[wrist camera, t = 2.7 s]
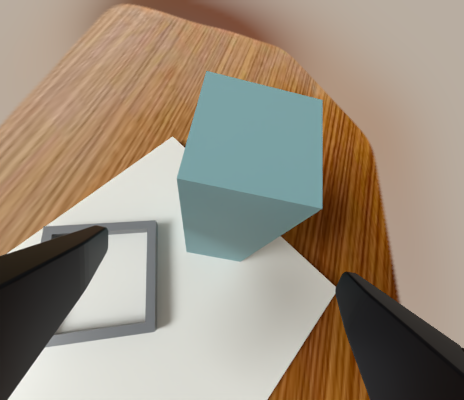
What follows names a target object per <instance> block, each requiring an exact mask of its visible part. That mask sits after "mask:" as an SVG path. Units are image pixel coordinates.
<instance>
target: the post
mask: <svg viewBox="0 0 464 400" xmlns="http://www.w3.org/2000/svg"><path fill="white" fill-rule="evenodd" d="M177 185H178V192H179V200H180V207H181V214H182V222H183V229H184V237H185V244H186V252H189V253H194V254H200V255H206V256H211V257H217V258H222V259H228V260H233V261H239V262H241V261H242V260H244V259H245V258H247V257H249V256H250V255H252V254H253V253H255V252H256V251H258V250H259V249H261V248H262V247H264V246H266V245H267V244H269V243H270V242H272V241H273V240H275V239H276V238H278V237H279V236H281V235H283V234H284V233H286V232H287V231H289V230H290V229H292V228H293V227H295V226H296V225H298V224H300V223H301V222H303V221H304V220H306V219H307V218H309V217H310V216H312V215H313V214H315V213H317V212H318V211H320V210H321V209H322V100H320V99H316V98H312V97H308V96H304V95H300V94H296V93H292V92H288V91H284V90H280V89H276V88H272V87H268V86H264V85H260V84H256V83H252V82H248V81H244V80H240V79H236V78H232V77H228V76H225V75H221V74H217V73H213V72H209V71H206V75H205V78H204V82H203V85H202V89H201V93H200V96H199V100H198V103H197V107H196V111H195V114H194V118H193V121H192V125H191V129H190V132H189V136H188V139H187V143H186V147H185V150H184V154H183V157H182V161H181V164H180V168H179V172H178V175H177Z"/></svg>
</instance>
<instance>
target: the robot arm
mask: <svg viewBox="0 0 464 400" xmlns="http://www.w3.org/2000/svg"><path fill="white" fill-rule="evenodd" d="M107 250H108V228H107V227H103V226H98V225H94V226H91V227H88V228H85V229H82V230H79V231H76V232H73V233H70V234H67V235H64V236H60V237H57V238H54V239H51V240H48V241H45V242H42V243H39V244H36V245H33V246H30V247H27V248H24V249H20V250H17V251H14V252H11V253H8V254H5V255H2V256H0V400H8V398H9V397H10V396H11V394H12V393H13V391H14V390H15V389H16V387H17V386H18V384H19V383H20V382H21V380H22V379H23V377H24V376H25V375H26V373H27V372H28V370H29V369H30V368H31V366H32V365H33V363H34V362H35V361H36V359H37V358H38V356H39V355H40V354H41V352H42V351H43V349H44V348H45V347H46V345H47V344H48V342H49V341H50V340H51V338H52V337H53V335H54V334H55V332H56V331H57V330H58V328H59V327H60V325H61V324H62V323H63V321H64V320H65V318H66V317H67V316H68V314H69V313H70V311H71V310H72V309H73V307H74V306H75V304H76V303H77V302H78V300H79V299H80V297H81V296H82V294H83V293H84V291H85V290H86V288H87V287H88V285H89V283H90V281H91V280H92V278H93V276H94V274H95V272H96V271H97V269H98V267H99V265H100V264H101V262H102V260H103V258H104V256H105V255H106V253H107ZM335 294H336V298H337V301H338V305H339V309H340V313H341V317H342V321H343V324H344V328H345V331H346V334H347V337H348V340H349V343H350V346H351V348H352V351H353V354H354V357H355V359H356V362H357V365H358V367H359V370H360V373H361V376H362V378H363V381H364V384H365V387H366V389H367V392H368V395H369V398H370V400H464V348H461V347H460V345H458V344H457V343H455V342H454V341H452V340H451V339H450V338H448V337H447V336H445V335H444V334H442V333H441V332H440V331H438V330H437V329H435V328H434V327H432V326H431V325H429V324H428V323H427V322H425V321H424V320H422V319H421V318H419V317H418V316H416V315H415V314H414V313H412V312H411V311H409V310H408V309H406V308H405V307H404V306H402V305H401V304H399V303H398V302H396V301H395V300H394V299H392V298H391V297H389V296H388V295H386V294H385V293H383V292H382V291H381V290H379V289H378V288H376V287H375V286H373V285H372V284H370V283H369V282H368V281H366V280H365V279H363V278H362V277H360V276H359V275H358V274H356V273H351V272H344V273H343V274H342V276H341V278H340V280H339V282H338V284H337V286H336V289H335Z"/></svg>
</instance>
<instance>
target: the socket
mask: <svg viewBox="0 0 464 400" xmlns="http://www.w3.org/2000/svg"><path fill="white" fill-rule="evenodd" d="M94 225H98V226H103V227H107V228H108V235H113V234H129V233H144V232H147V263H146V309H145V322H137V323H129V324H122V325H114V326H107V327H99V328H92V329H84V330H77V331H69V332H62V333H55V334H54V335H53V337H52V338H51V340H50V341H49V342H48V344H47V345H46V347H52V346H59V345H66V344H73V343H80V342H87V341H94V340H101V339H109V338H116V337H123V336H130V335H137V334H144V333H151V332H155V331H156V330H157V267H158V224H157V222H156V220H150V221H132V222H115V223H97V224H79V225H61V226H44V227H43V233H42V238H41V243H42V242H45V241H48V240H51V239H54V238H57V237H60V236H64V235H67V234H70V233H73V232H76V231H79V230H82V229H85V228H88V227H91V226H94Z"/></svg>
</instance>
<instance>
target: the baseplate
mask: <svg viewBox="0 0 464 400" xmlns="http://www.w3.org/2000/svg"><path fill="white" fill-rule="evenodd" d="M184 150H185V148H184V147H183V146H182V145H181V144H180V143H179V142H178V141H177V140H176V139H175V138H174V137H171V138H170V139H168V140H167V141H166V142H164V143H163V144H161V145H160V146H159V147H157V148H156V149H154V150H153V151H152V152H150V153H149V154H147V155H146V156H144V157H143V158H142V159H140V160H139V161H137V162H136V163H135V164H133V165H132V166H130V167H129V168H127V169H126V170H125V171H123V172H122V173H120V174H119V175H118V176H116V177H115V178H113V179H112V180H110V181H109V182H108V183H106V184H105V185H103V186H102V187H101V188H99V189H98V190H96V191H95V192H94V193H92V194H91V195H89V196H88V197H86V198H85V199H84V200H82V201H81V202H79V203H78V204H77V205H75V206H74V207H72V208H71V209H69V210H68V211H67V212H65V213H64V214H62V215H61V216H60V217H58V218H57V219H55V220H54V221H52V222H51V223H50V224H48V225H47V226H61V225H79V224H97V223H115V222H132V221H150V220H156V222H157V224H158V267H157V330H156V331H155V332H151V333H144V334H137V335H130V336H123V337H116V338H109V339H101V340H94V341H87V342H80V343H73V344H66V345H59V346H52V347H45V348H44V349H43V351H42V352H41V354H40V355H39V356H38V358H37V359H36V361H35V362H34V363H33V365H32V366H31V368H30V369H29V370H28V372H27V373H26V375H25V376H24V377H23V379H22V380H21V382H20V383H19V384H18V386H17V387H16V389H15V390H14V391H13V393H12V394H11V396H10V397H9V398H8V400H267V399H268V398H269V396H270V395H271V393H272V392H273V390H274V388H275V387H276V385H277V384H278V382H279V381H280V379H281V377H282V376H283V374H284V373H285V371H286V370H287V368H288V367H289V365H290V363H291V362H292V360H293V359H294V357H295V356H296V354H297V352H298V351H299V349H300V348H301V346H302V345H303V343H304V342H305V340H306V338H307V337H308V335H309V334H310V332H311V331H312V329H313V327H314V326H315V324H316V323H317V321H318V320H319V318H320V316H321V315H322V313H323V312H324V310H325V309H326V307H327V306H328V304H329V302H330V301H331V299H332V298H333V296H334V295H335V289H336V287H335V286H334V285H333V284H332V283H331V282H330V281H329V280H328V279H327V278H325V277H324V276H323V275H322V274H321V273H320V272H319V271H318V270H317V269H316V268H315V267H314V266H312V265H311V264H310V263H309V262H308V261H307V260H306V259H305V258H304V257H303V256H302V255H301V254H299V253H298V252H297V251H296V250H295V249H294V248H293V247H292V246H291V245H290V244H289V243H288V242H286V241H285V240H284V239H283V238H282V237H281V236H279V237H278V238H276V239H275V240H273V241H272V242H270V243H269V244H267V245H266V246H264V247H262V248H261V249H259V250H258V251H256V252H255V253H253V254H252V255H250V256H249V257H247V258H245V259H244V260H242V261H241V262H239V261H233V260H228V259H222V258H217V257H211V256H206V255H200V254H194V253H189V252H186V244H185V237H184V229H183V222H182V214H181V207H180V200H179V192H178V185H177V175H178V172H179V168H180V164H181V161H182V157H183V154H184ZM42 233H43V229H41V230H40V231H38V232H37V233H35V234H34V235H33V236H31V237H30V238H28V239H27V240H26V241H24V242H23V243H21V244H20V245H19V246H17V247H16V248H14V249H13V250H11V251H10V252H9V253H11V252H14V251H17V250H20V249H24V248H27V247H30V246H33V245H36V244H39V243H41V238H42ZM7 254H8V253H7ZM146 263H147V232H144V233H129V234H113V235H108V250H107V253H106V255H105V256H104V258H103V260H102V262H101V264H100V265H99V267H98V269H97V271H96V272H95V274H94V276H93V278H92V280H91V281H90V283H89V285H88V287H87V288H86V290H85V291H84V293H83V294H82V296H81V297H80V299H79V300H78V302H77V303H76V304H75V306H74V307H73V309H72V310H71V311H70V313H69V314H68V316H67V317H66V318H65V320H64V321H63V323H62V324H61V325H60V327H59V328H58V330H57V331H56V332H55V333H62V332H69V331H77V330H84V329H92V328H99V327H107V326H114V325H122V324H129V323H137V322H145V309H146Z"/></svg>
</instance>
